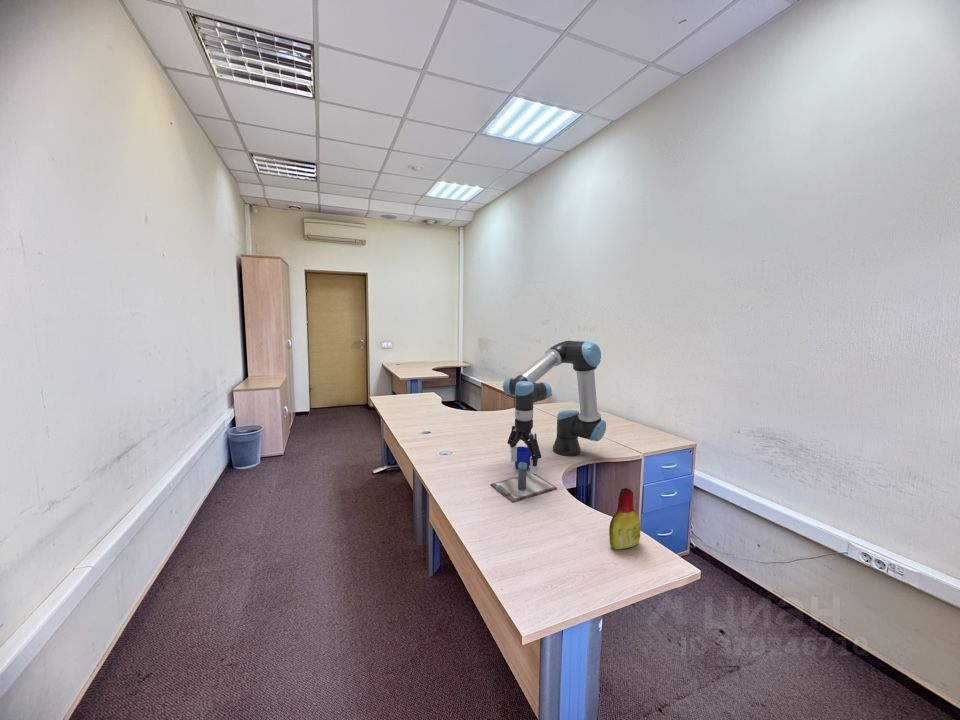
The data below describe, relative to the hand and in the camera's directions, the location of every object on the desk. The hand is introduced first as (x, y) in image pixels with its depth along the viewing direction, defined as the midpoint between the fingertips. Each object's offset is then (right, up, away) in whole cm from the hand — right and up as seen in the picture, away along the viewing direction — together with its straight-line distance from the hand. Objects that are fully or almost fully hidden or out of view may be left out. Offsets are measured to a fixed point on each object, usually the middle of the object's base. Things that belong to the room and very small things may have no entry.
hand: (523, 467), depth 154 cm
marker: (-1, -11, +1) cm, 11 cm away
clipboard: (+1, -11, +7) cm, 13 cm away
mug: (+4, -9, +26) cm, 28 cm away
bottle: (+29, -17, -33) cm, 47 cm away
